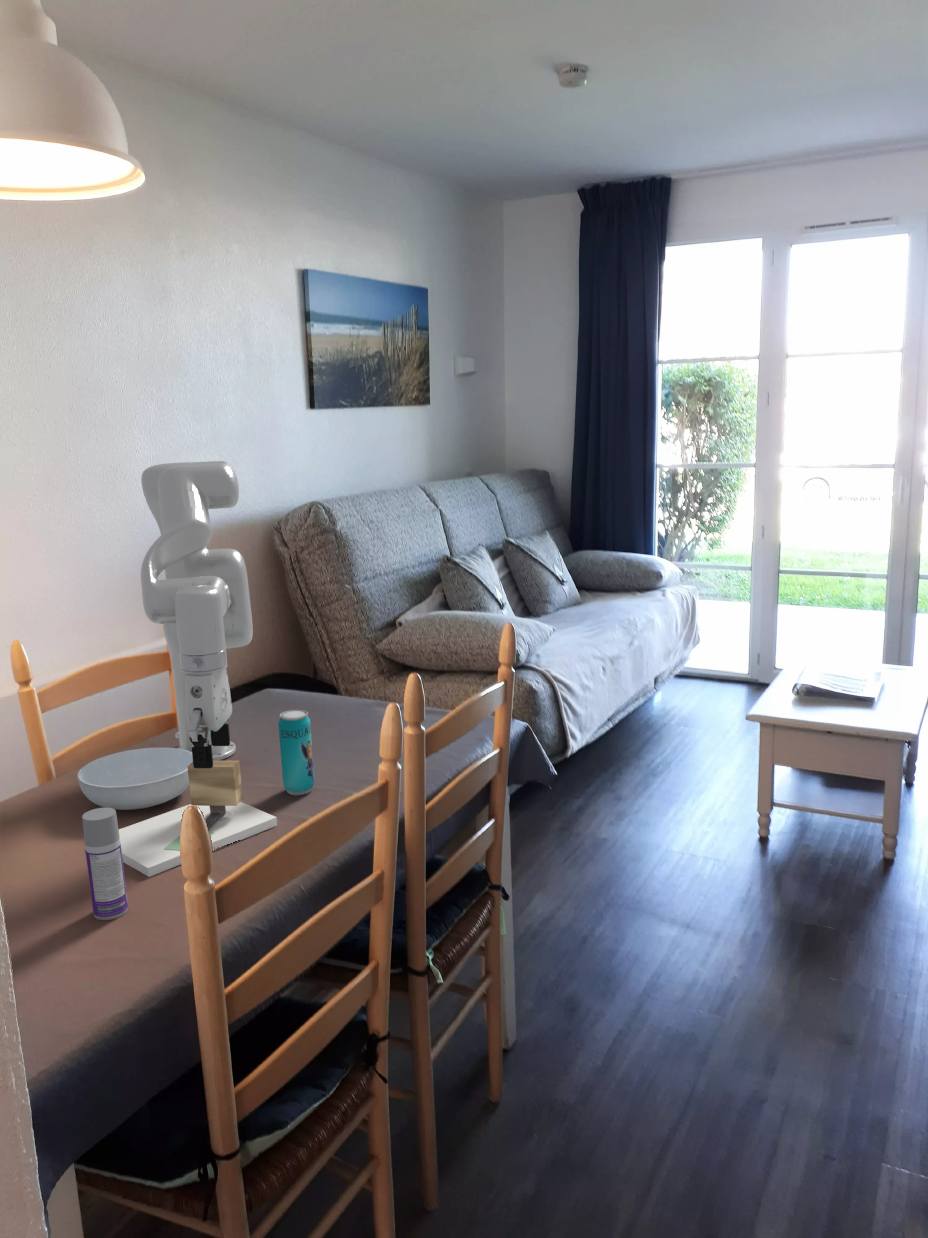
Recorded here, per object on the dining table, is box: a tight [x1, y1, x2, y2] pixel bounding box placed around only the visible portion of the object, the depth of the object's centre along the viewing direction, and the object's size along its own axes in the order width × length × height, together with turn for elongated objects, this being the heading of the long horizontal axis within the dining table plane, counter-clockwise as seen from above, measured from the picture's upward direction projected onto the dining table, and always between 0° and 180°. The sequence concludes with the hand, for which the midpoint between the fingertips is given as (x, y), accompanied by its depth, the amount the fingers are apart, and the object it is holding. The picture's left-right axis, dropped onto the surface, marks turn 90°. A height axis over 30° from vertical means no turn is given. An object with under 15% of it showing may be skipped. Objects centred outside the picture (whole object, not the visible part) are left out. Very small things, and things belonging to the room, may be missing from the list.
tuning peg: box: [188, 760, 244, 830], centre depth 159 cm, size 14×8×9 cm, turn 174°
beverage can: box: [277, 709, 315, 796], centre depth 178 cm, size 6×6×15 cm
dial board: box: [118, 801, 278, 878], centre depth 162 cm, size 18×24×2 cm
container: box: [81, 807, 129, 921], centre depth 136 cm, size 5×5×15 cm
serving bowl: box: [76, 746, 193, 811], centre depth 177 cm, size 21×21×7 cm
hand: (212, 756), depth 164 cm, fingers open, 9 cm apart
